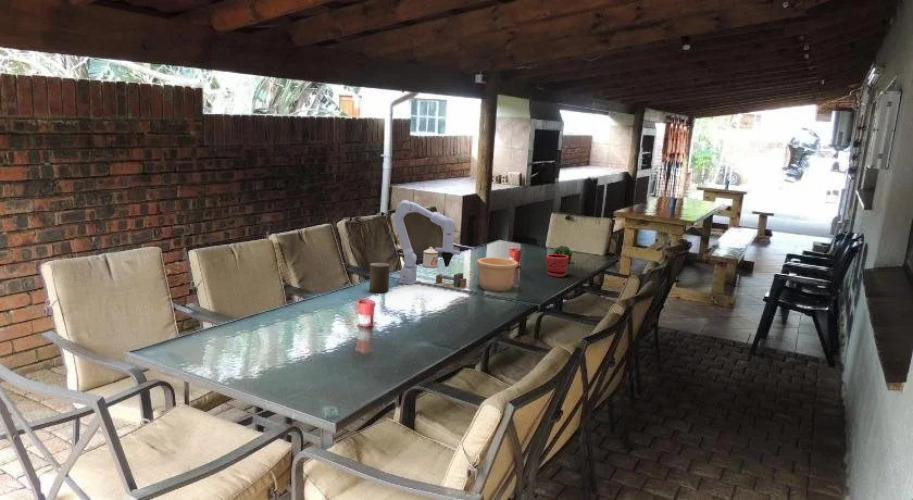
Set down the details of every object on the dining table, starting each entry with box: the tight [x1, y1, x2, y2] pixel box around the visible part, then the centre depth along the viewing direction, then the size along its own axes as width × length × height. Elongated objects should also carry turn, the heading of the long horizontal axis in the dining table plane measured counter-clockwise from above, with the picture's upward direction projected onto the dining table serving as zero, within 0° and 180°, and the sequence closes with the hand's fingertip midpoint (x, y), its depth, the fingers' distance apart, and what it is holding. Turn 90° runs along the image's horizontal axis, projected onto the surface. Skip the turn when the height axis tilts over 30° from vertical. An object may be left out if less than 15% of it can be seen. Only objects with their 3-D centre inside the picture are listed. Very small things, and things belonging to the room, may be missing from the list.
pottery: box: [476, 256, 519, 292], centre depth 350 cm, size 22×22×14 cm
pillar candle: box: [369, 262, 390, 294], centre depth 329 cm, size 10×10×15 cm
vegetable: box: [552, 245, 573, 265], centre depth 426 cm, size 12×13×15 cm
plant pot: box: [545, 253, 569, 278], centre depth 389 cm, size 13×13×12 cm
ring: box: [452, 272, 464, 287], centre depth 348 cm, size 2×6×6 cm, turn 152°
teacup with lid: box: [422, 246, 439, 269], centre depth 396 cm, size 12×9×12 cm
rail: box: [433, 273, 468, 290], centre depth 350 cm, size 17×6×5 cm, turn 63°
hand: (446, 266), depth 351 cm, fingers closed
